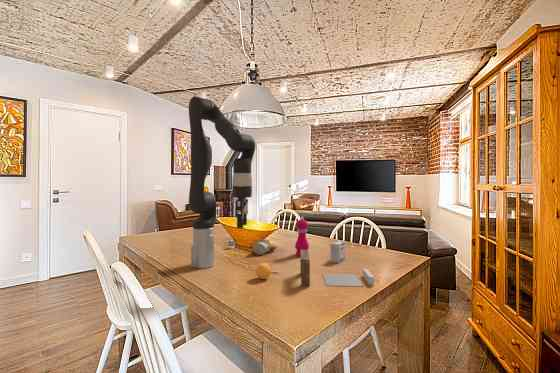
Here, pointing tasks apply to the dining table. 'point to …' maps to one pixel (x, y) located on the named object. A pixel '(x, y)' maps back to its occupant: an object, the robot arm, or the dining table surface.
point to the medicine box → (337, 251)
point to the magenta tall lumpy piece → (301, 236)
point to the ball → (263, 271)
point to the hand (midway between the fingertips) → (242, 226)
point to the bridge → (305, 268)
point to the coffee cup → (231, 244)
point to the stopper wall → (368, 277)
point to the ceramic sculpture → (263, 246)
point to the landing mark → (342, 280)
